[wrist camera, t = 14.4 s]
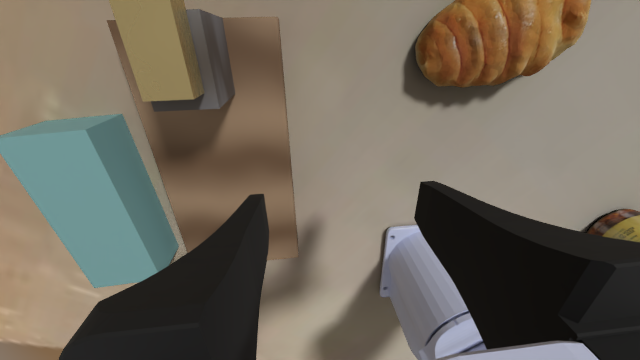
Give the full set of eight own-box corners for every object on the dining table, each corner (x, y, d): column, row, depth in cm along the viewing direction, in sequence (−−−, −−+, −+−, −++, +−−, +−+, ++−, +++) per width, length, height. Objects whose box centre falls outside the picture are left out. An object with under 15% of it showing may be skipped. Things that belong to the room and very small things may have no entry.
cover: (179, 244, 24) (161, 279, 20) (123, 251, 24) (94, 288, 20) (124, 112, 18) (85, 129, 15) (48, 120, 18) (-10, 138, 14)
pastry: (419, 105, 20) (445, 118, 17) (402, 7, 17) (430, -2, 14) (540, 59, 19) (593, 62, 16) (546, -52, 16) (613, -77, 13)
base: (297, 241, 25) (300, 298, 19) (199, 250, 24) (173, 311, 19) (278, 19, 16) (273, 7, 11) (127, 22, 16) (40, 12, 10)
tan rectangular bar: (204, 93, 12) (194, 99, 11) (158, 94, 12) (142, 101, 11) (164, -84, 9) (144, -105, 8) (104, -85, 9) (73, -106, 8)
